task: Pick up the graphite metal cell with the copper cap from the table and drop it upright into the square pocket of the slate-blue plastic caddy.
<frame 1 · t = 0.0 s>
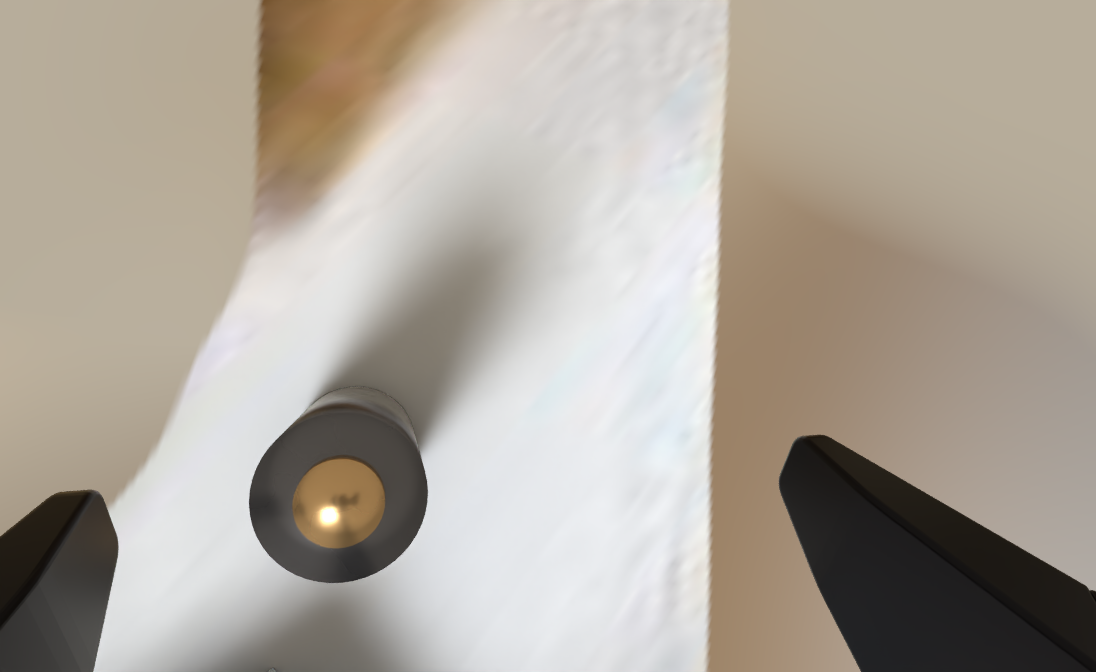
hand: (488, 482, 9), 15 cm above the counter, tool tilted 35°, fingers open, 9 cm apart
cell: (355, 444, 23), on the counter
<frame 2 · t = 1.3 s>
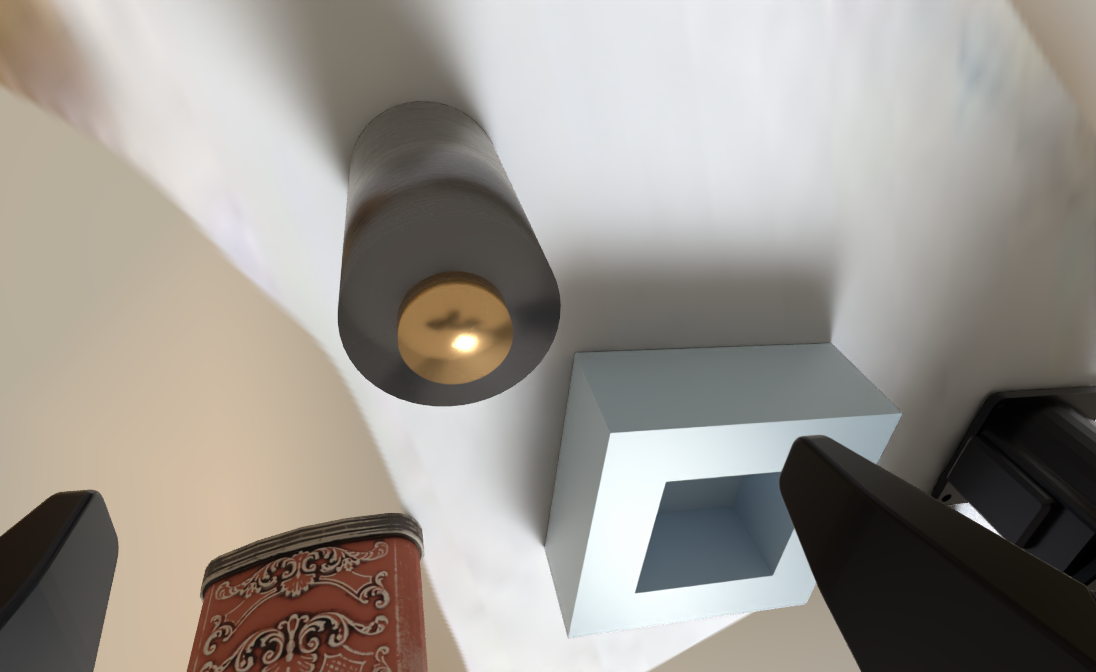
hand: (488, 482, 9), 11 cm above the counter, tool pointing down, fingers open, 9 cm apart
cell: (426, 177, 18), on the counter
caddy: (679, 451, 26), on the counter
red decorated tea tin: (317, 551, 25), on the counter
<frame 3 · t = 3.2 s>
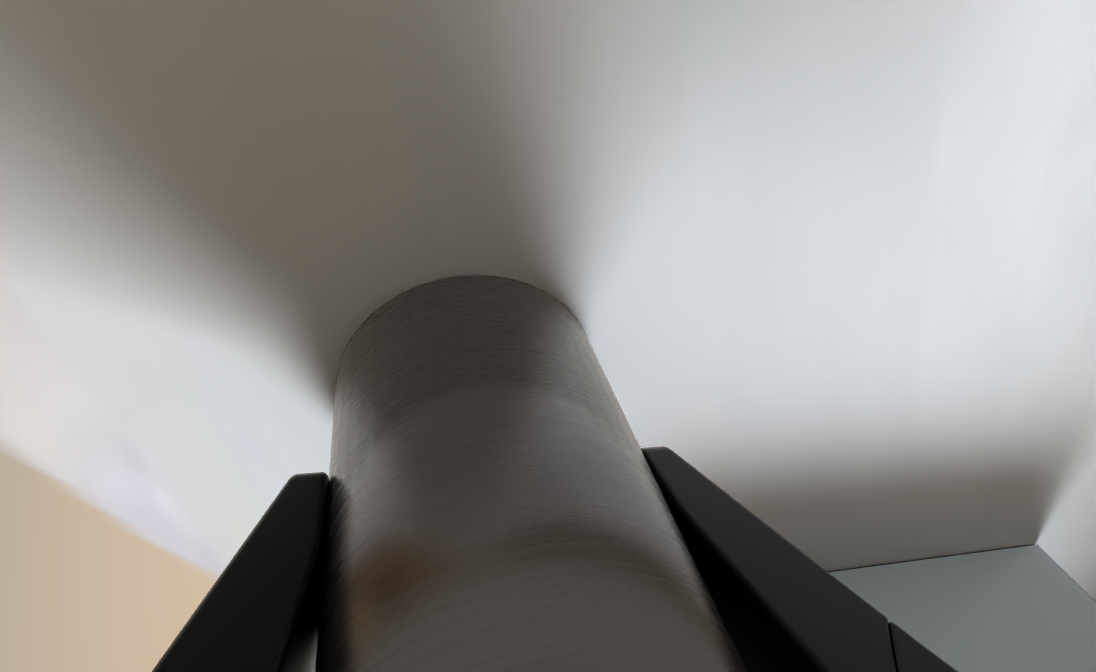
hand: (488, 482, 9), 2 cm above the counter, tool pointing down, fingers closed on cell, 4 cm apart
cell: (469, 388, 10), on the counter, touching gripper
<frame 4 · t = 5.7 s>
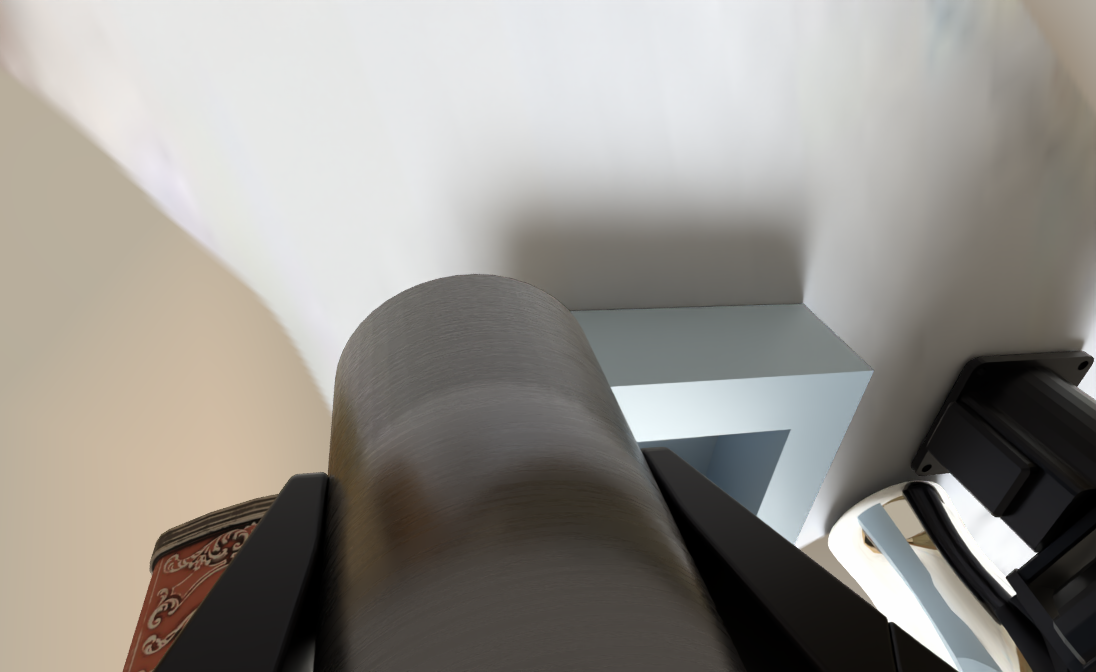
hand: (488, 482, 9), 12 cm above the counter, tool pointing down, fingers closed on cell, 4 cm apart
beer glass: (882, 515, 33), on the counter, touching arm
cell: (468, 387, 10), point 10 cm above the counter, touching gripper
caddy: (649, 419, 25), on the counter
red decorated tea tin: (273, 524, 24), on the counter
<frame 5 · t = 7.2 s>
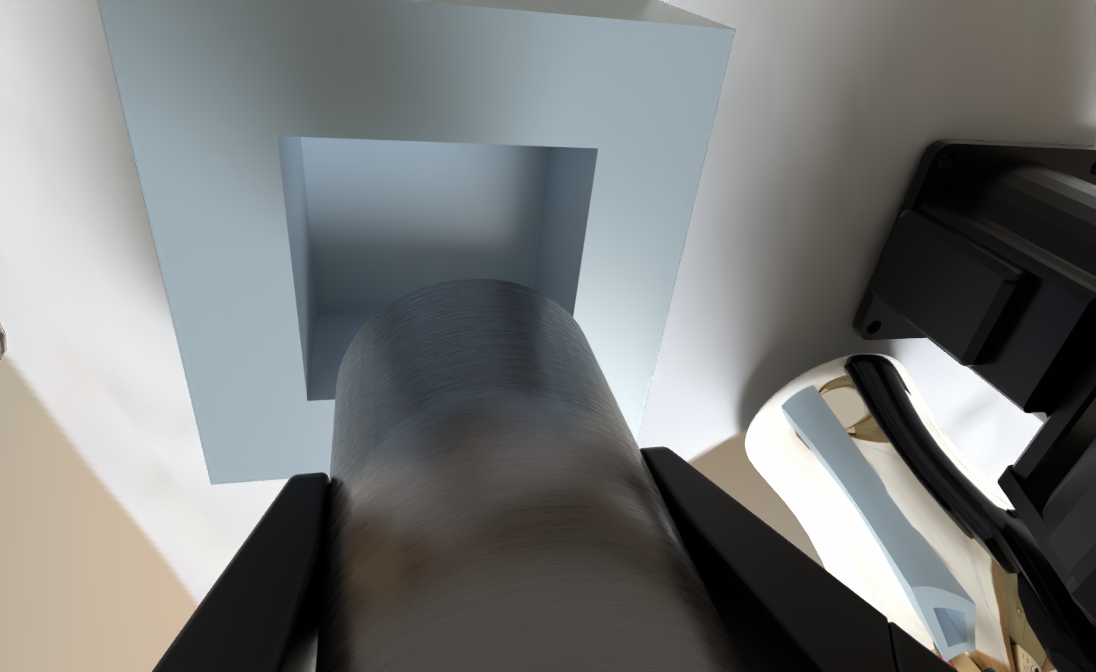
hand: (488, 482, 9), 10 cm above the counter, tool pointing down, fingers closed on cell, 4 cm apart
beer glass: (820, 409, 23), on the counter, touching arm
cell: (470, 391, 10), point 8 cm above the counter, touching gripper
caddy: (428, 203, 16), on the counter
when the fingers open (5 cm above the counter, at t = 8.6 s): cell drops 2 cm, resting on caddy.
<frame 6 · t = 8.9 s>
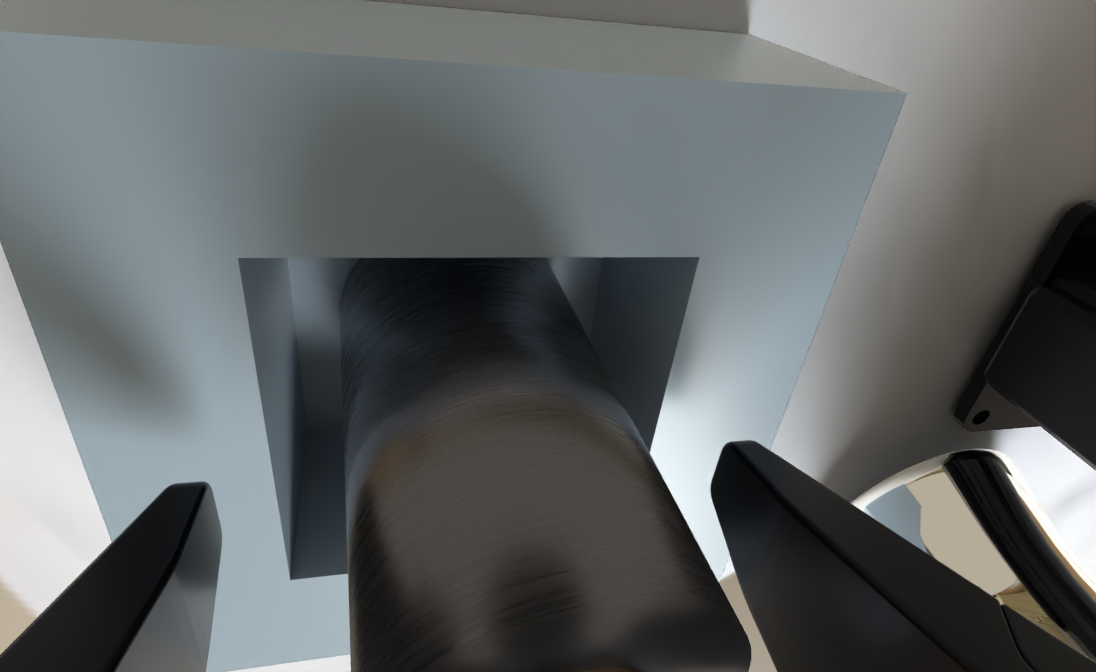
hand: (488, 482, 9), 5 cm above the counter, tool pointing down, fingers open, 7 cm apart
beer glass: (906, 505, 20), on the counter, touching arm
cell: (452, 312, 12), point 1 cm above the counter, touching caddy
caddy: (449, 292, 13), on the counter
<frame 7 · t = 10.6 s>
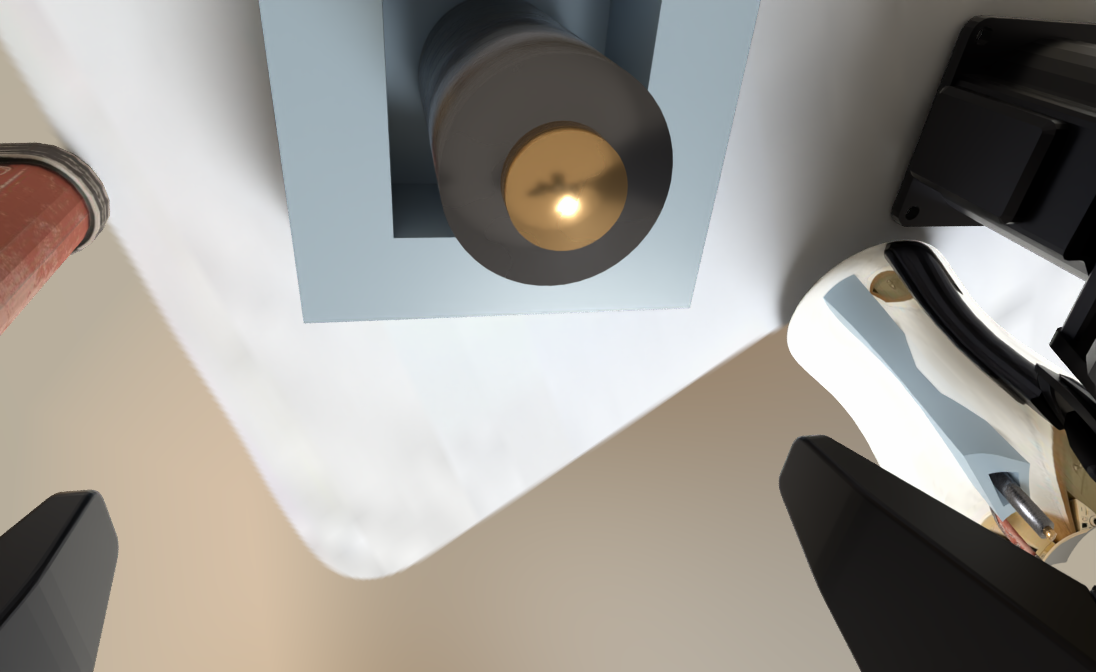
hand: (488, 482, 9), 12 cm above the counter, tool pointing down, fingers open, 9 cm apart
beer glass: (860, 302, 24), on the counter
cell: (496, 80, 17), point 1 cm above the counter, touching caddy
caddy: (494, 74, 18), on the counter
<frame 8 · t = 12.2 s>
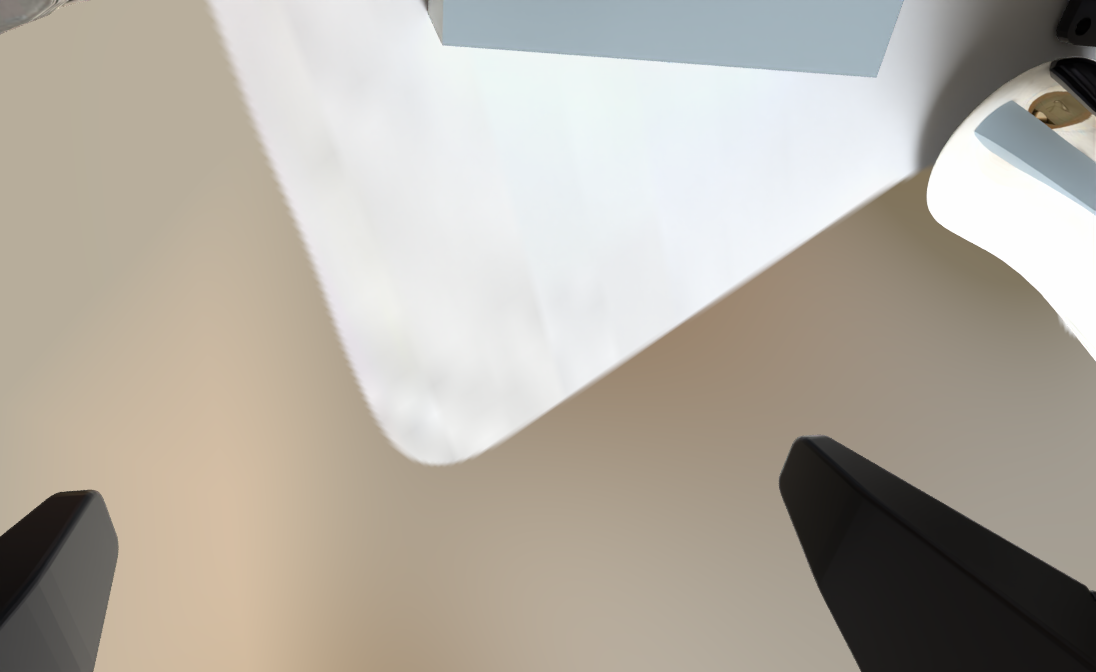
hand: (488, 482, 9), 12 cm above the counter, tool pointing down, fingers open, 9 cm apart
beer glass: (1008, 145, 22), on the counter, touching arm
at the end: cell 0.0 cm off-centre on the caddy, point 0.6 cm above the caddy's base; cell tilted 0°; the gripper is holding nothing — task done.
